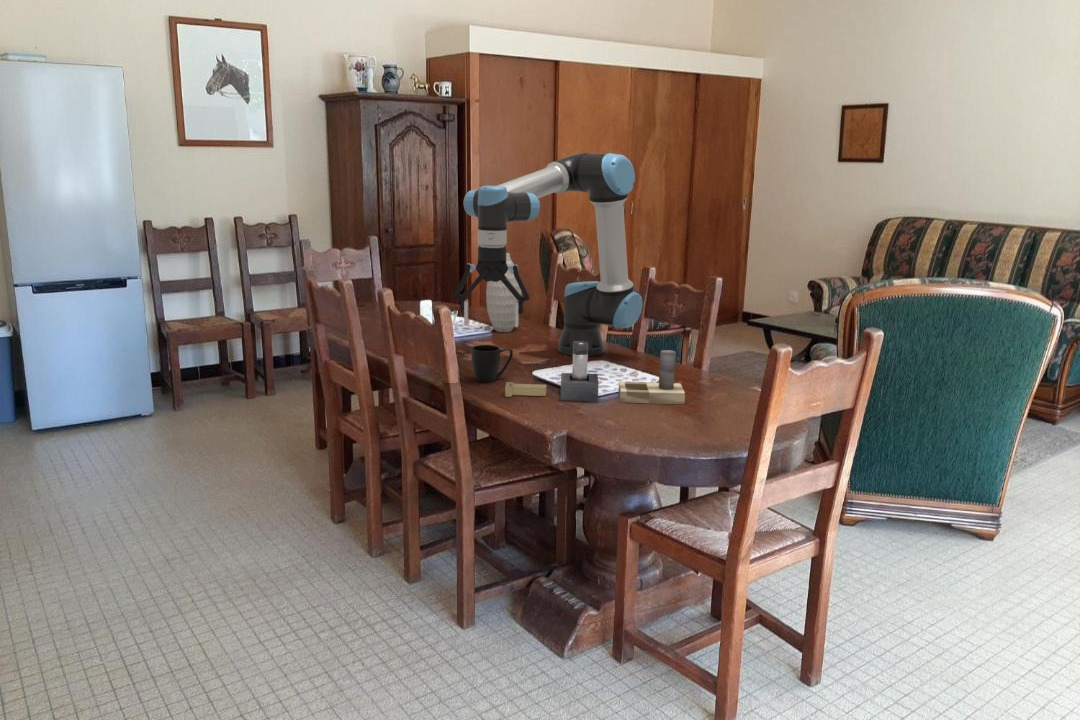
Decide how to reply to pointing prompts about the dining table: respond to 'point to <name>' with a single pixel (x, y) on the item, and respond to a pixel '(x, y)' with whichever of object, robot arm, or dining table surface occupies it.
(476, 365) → the mug
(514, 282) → the vase
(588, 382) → the socket
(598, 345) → the robot arm
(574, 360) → the round peg
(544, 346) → the dining table surface
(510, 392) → the t-shaped block
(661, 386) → the rack
